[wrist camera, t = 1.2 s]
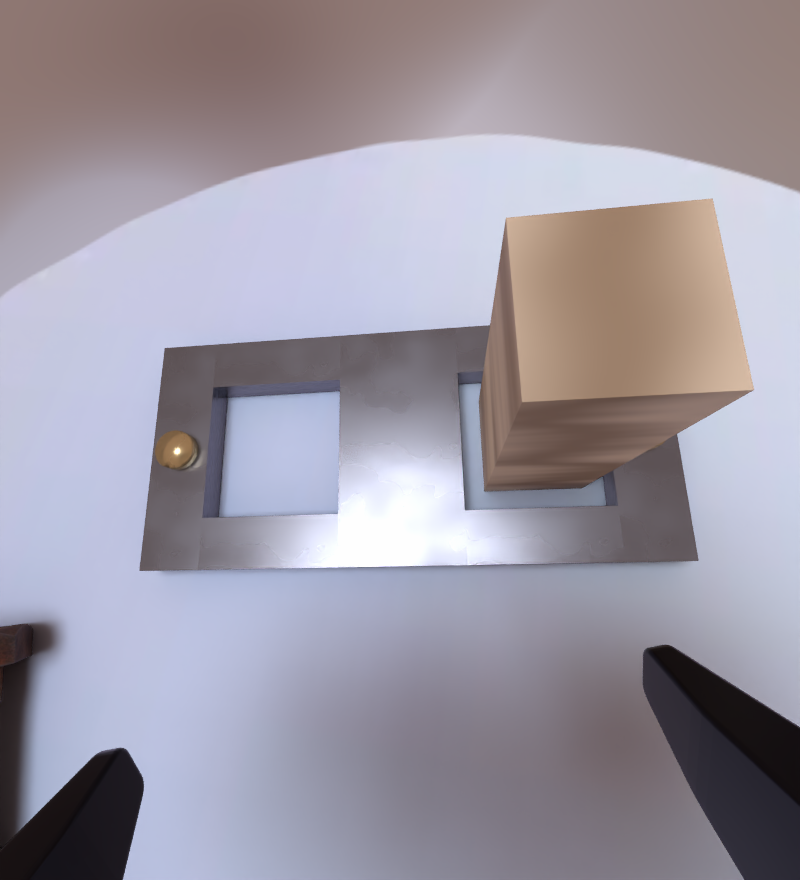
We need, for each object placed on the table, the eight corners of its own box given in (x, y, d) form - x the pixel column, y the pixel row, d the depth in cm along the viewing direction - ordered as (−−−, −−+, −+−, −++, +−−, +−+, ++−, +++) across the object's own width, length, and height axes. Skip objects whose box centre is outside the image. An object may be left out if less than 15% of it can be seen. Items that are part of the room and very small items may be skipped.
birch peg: (571, 397, 23) (712, 198, 10) (581, 488, 22) (753, 389, 9) (478, 402, 23) (505, 218, 11) (484, 491, 22) (522, 402, 10)
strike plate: (643, 329, 23) (662, 306, 21) (681, 561, 20) (706, 560, 18) (181, 360, 26) (157, 343, 24) (159, 570, 23) (130, 570, 21)
